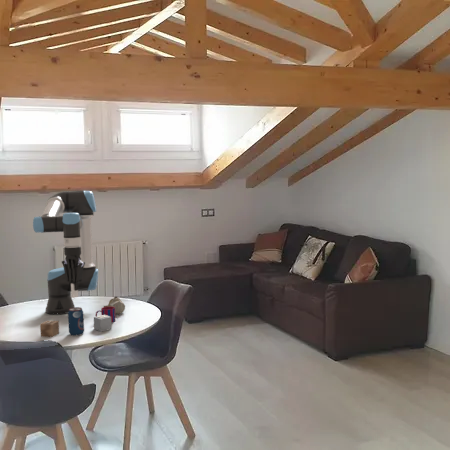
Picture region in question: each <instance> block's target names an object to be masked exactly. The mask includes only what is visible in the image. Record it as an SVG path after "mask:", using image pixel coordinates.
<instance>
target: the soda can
mask: <svg viewBox="0 0 450 450" xmlns="http://www.w3.org/2000/svg"><path fill="white" fill-rule="evenodd" d="M67 319H68V333H69V335H71V336H72V335H73V336H74V337H75V336H76V335H78V336H82V335H83V334H84V332H85V322H84V311H83V308H82V307H81V306H80V307H79V306H77V307H76V306H75V308H70V309H69V312H68V313H67ZM76 337H77V336H76Z"/></svg>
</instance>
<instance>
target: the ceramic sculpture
mask: <svg viewBox="0 0 450 450" xmlns="http://www.w3.org/2000/svg"><path fill="white" fill-rule="evenodd" d="M109 306H111V307H115V315H119V314H122V313H124V311H125V309H126V305H125V304H124V302H122V300H121V299H120V298H119V297H118V296H114V297H113V298H111V299H110V300H109V301H108V304H107V305H103V307H109Z"/></svg>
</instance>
